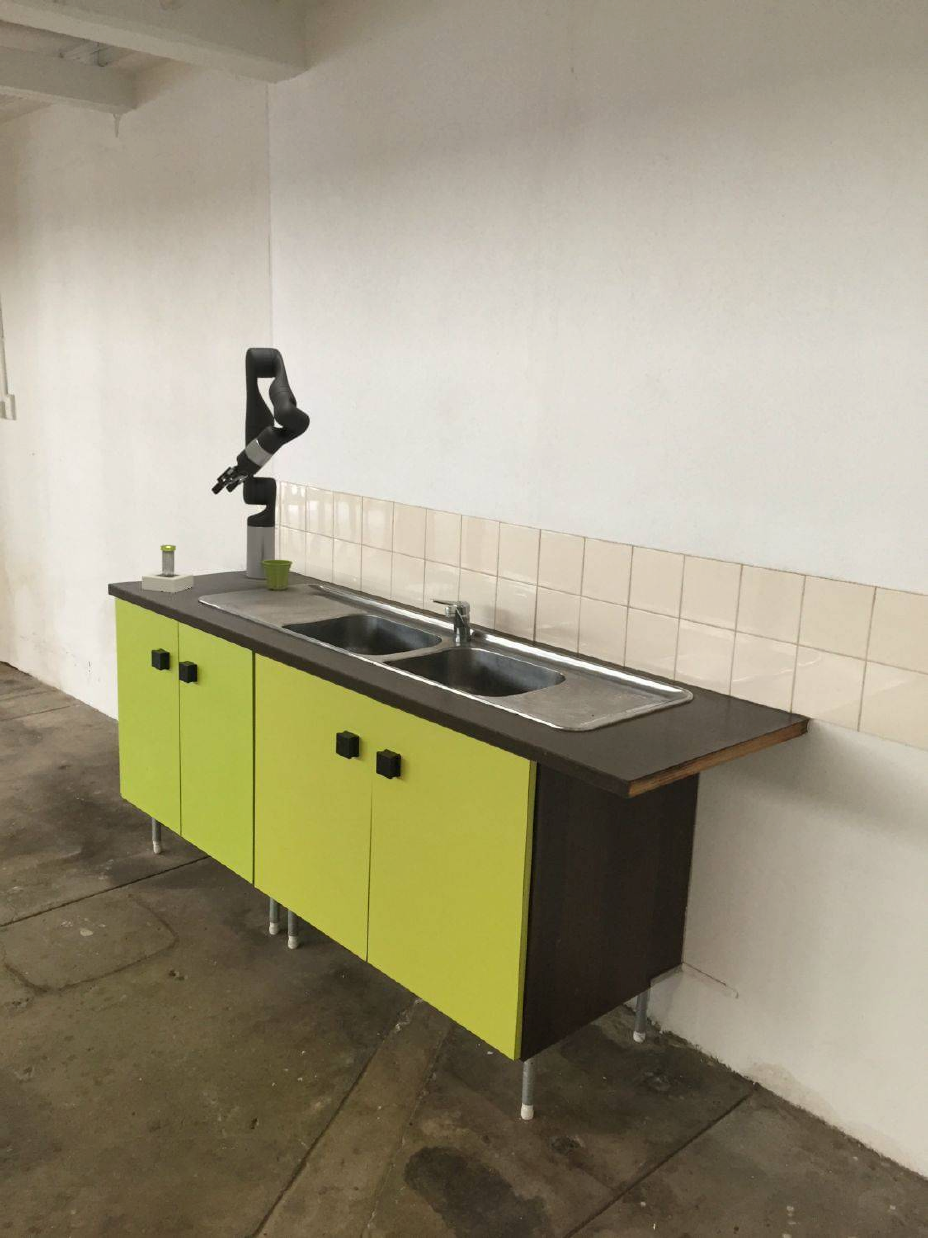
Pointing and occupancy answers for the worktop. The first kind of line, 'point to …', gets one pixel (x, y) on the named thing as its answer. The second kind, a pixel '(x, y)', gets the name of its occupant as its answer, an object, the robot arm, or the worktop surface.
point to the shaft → (168, 560)
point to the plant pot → (277, 573)
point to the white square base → (167, 582)
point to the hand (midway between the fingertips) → (220, 491)
